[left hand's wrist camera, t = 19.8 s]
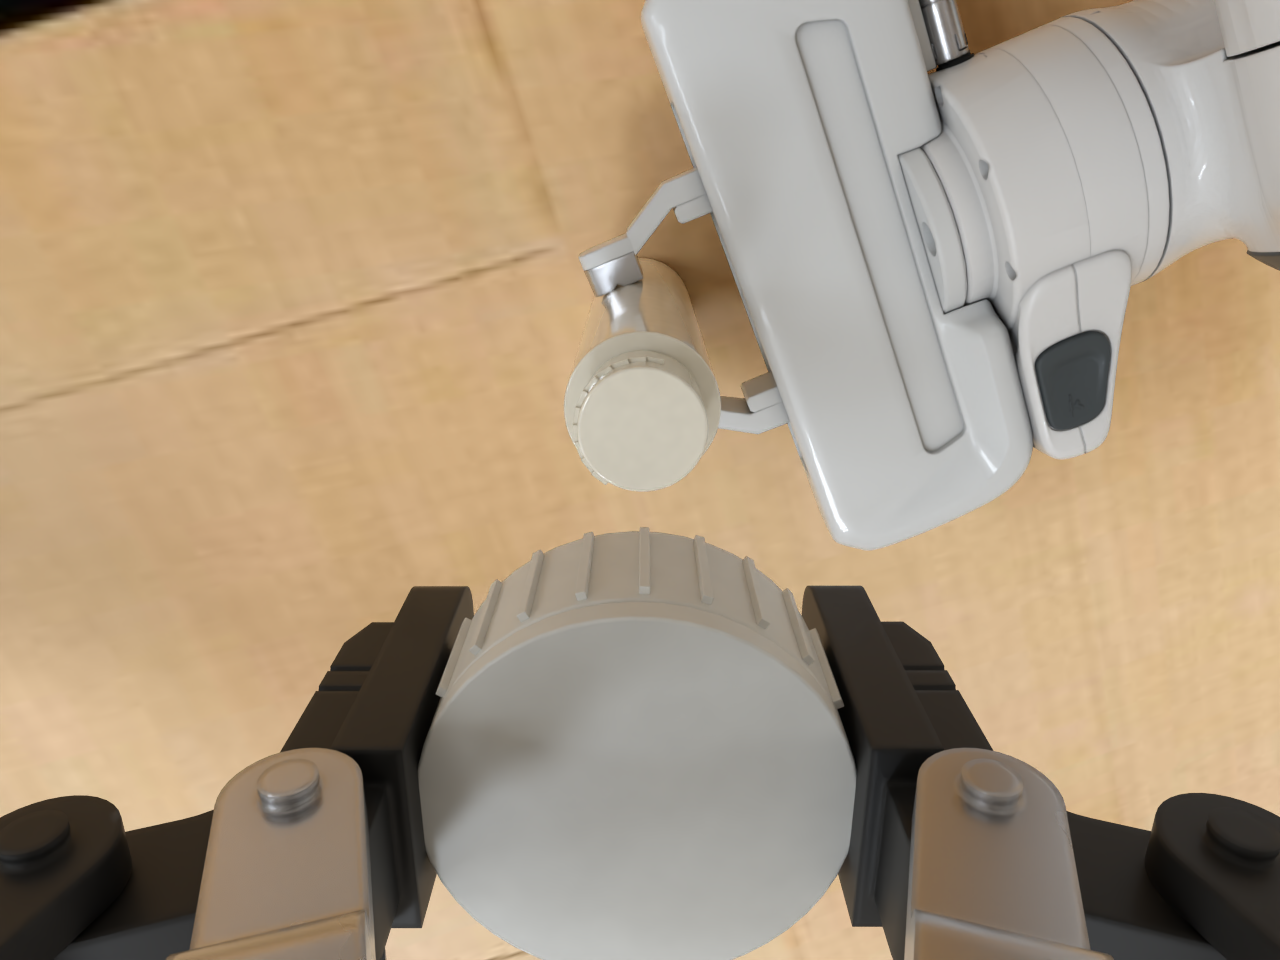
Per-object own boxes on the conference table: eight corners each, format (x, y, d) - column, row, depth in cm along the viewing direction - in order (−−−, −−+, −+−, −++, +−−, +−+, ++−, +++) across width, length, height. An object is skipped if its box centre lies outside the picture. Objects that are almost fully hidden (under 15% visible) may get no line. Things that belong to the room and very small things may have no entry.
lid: (420, 810, 12) (376, 940, 10) (484, 482, 10) (446, 561, 8) (765, 876, 12) (788, 1015, 10) (879, 572, 11) (932, 668, 9)
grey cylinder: (635, 236, 36) (632, 310, 20) (709, 301, 37) (762, 421, 21) (573, 313, 37) (523, 440, 21) (647, 374, 38) (652, 541, 22)
